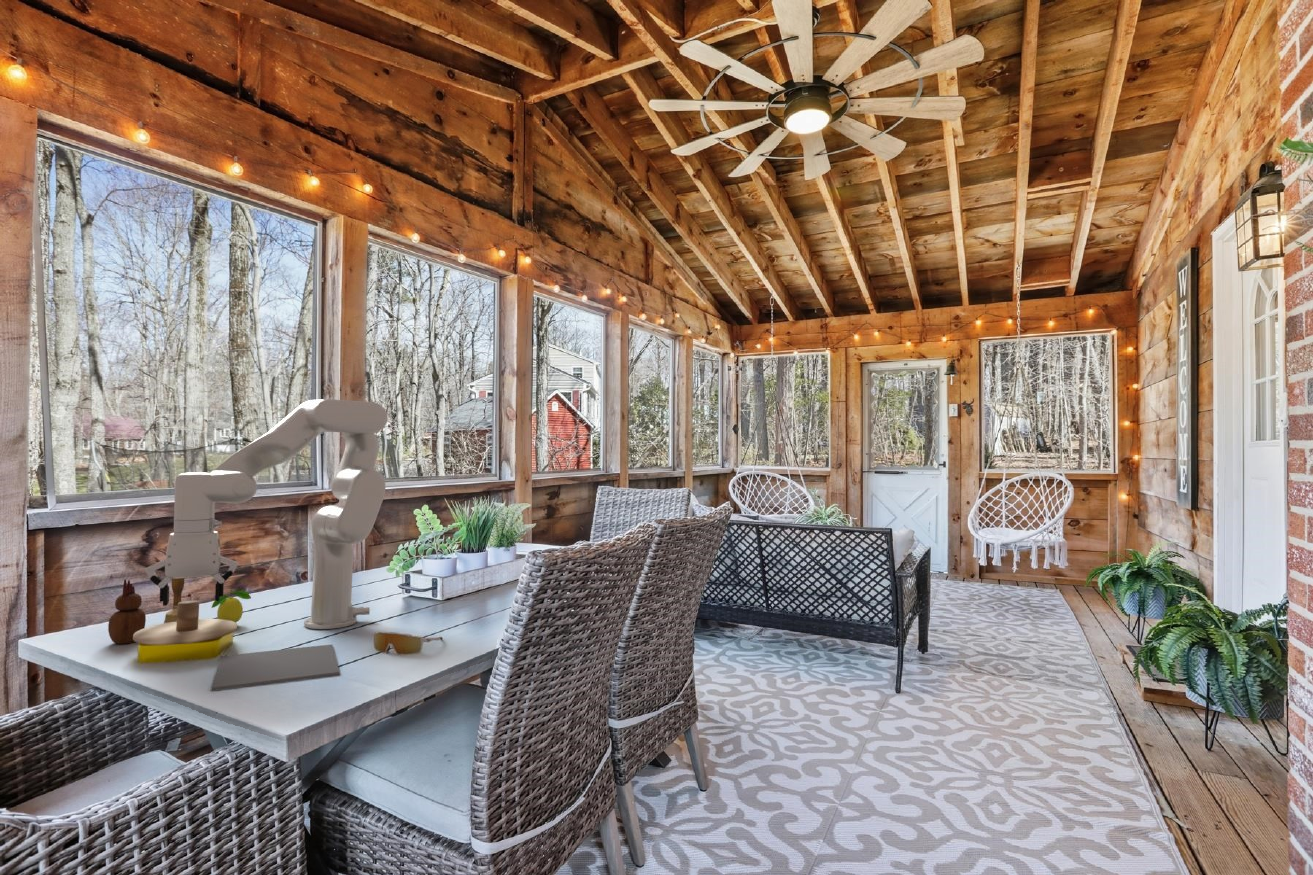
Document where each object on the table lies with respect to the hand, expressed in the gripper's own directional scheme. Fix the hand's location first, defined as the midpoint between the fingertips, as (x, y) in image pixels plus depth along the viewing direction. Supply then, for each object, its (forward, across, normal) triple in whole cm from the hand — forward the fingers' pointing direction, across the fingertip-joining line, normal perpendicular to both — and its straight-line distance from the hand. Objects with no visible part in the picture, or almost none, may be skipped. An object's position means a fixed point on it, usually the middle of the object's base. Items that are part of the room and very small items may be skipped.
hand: (192, 602), depth 148 cm
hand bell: (+11, +5, -18) cm, 22 cm away
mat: (+11, -17, +20) cm, 29 cm away
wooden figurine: (+11, +14, -14) cm, 22 cm away
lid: (+7, +1, +1) cm, 7 cm away
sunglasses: (+12, -44, +15) cm, 48 cm away
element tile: (+12, +1, 0) cm, 12 cm away
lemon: (+12, -6, -21) cm, 25 cm away
